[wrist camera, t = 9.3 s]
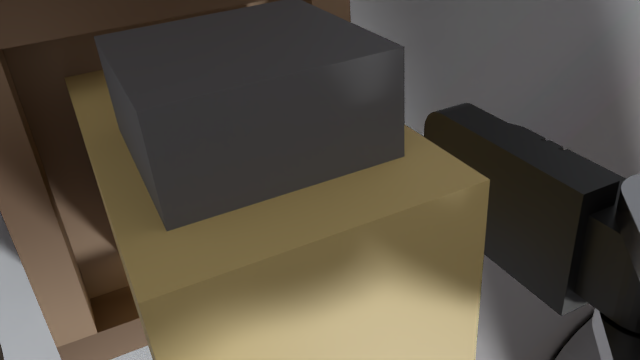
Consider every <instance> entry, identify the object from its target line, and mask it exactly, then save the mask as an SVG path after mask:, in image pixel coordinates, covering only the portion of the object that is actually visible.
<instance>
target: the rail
mask: <svg viewBox="0 0 640 360" xmlns="http://www.w3.org/2000/svg"><path fill="white" fill-rule="evenodd" d="M275 1H280V0H0V211H1V214H2V216H3V219H4V221H5V224H6V226H7V228H8V231H9V233H10V236H11V238H12V241H13V243H14V245H15V248H16V250H17V253H18V255H19V257H20V260H21V262H22V265H23V267H24V270H25V272H26V274H27V277H28V279H29V282H30V284H31V287H32V289H33V291H34V294H35V296H36V299H37V301H38V303H39V306H40V308H41V311H42V313H43V316H44V318H45V320H46V323H47V325H48V328H49V330H50V333H51V335H52V337H53V340H54V342H55V345H56V347H57V349H58V352H59V354H60V357H61V359H62V360H110V359H113V358H115V357H118V356H121V355H123V354H126V353H129V352H131V351H134V350H137V349H139V348H142V347H145V346H147V345H148V343H147V339H146V336H145V333H144V330H143V327H142V324H141V321H140V318H139V314H138V311H137V308H136V305H135V302H134V299H133V296H132V293H131V289H130V286H129V283H128V280H127V277H126V274H125V271H124V268H123V265H122V261H121V258H120V255H119V252H118V249H117V246H116V242H115V239H114V236H113V233H112V230H111V226H110V223H109V220H108V217H107V213H106V210H105V207H104V204H103V201H102V197H101V194H100V191H99V188H98V185H97V181H96V178H95V175H94V172H93V168H92V165H91V162H90V159H89V156H88V152H87V149H86V146H85V143H84V140H83V136H82V133H81V130H80V127H79V123H78V120H77V117H76V114H75V111H74V107H73V104H72V101H71V98H70V94H69V91H68V88H67V85H66V82H65V78H66V77H70V76H75V75H80V74H84V73H89V72H94V71H99V70H103V68H102V65H101V61H100V57H99V54H98V50H97V47H96V43H95V39H94V36H99V35H104V34H109V33H114V32H120V31H125V30H130V29H135V28H140V27H145V26H151V25H156V24H161V23H166V22H171V21H177V20H182V19H187V18H192V17H197V16H203V15H208V14H213V13H218V12H223V11H229V10H234V9H239V8H244V7H249V6H254V5H260V4H265V3H270V2H275ZM303 1H305V2H307V3H309V4H311V5H313V6H316V7H318V8H320V9H322V10H324V11H327V12H329V13H331V14H333V15H335V16H338V17H340V18H342V19H344V20H346V21H348V22H351V19H350V0H303Z"/></svg>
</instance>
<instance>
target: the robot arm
mask: <svg viewBox="0 0 640 360" xmlns="http://www.w3.org/2000/svg"><path fill="white" fill-rule="evenodd" d="M424 137H425V138H426V139H428V140H429V141H431V142H432V143H434V144H435V145H437V146H439V147H440V148H442V149H443V150H445V151H446V152H448V153H449V154H451V155H453V156H454V157H456V158H457V159H459V160H460V161H462V162H463V163H465V164H466V165H468V166H470V167H471V168H473V169H474V170H476V171H477V172H479V173H480V174H482V175H484V176H485V177H487V178H488V179H490V186H489V198H488V210H487V222H486V234H485V246H484V254H485V255H486V256H487V257H489V258H490V259H491V260H492V261H494V262H495V263H496V264H497V265H499V266H500V267H501V268H502V269H504V270H505V271H506V272H507V273H508V274H510V275H511V276H512V277H513V278H515V279H516V280H517V281H518V282H520V283H521V284H522V285H523V286H525V287H526V288H527V289H528V290H530V291H531V292H532V293H533V294H535V295H536V296H537V297H538V298H540V299H541V300H542V301H543V302H545V303H546V304H547V305H548V306H550V307H551V308H552V309H553V310H554V311H556V312H557V313H558V314H559V315H561V316H563V315H565V314H567V313H569V312H571V311H573V310H575V309H577V308H580V307H582V306H584V305H586V304H588V303H589V304H591V305H592V306H593V307H595V309H594V313H593V317H592V318H591V319H590V320H589V321H588V322H587V323H586V324H585V325H584V326H583V327H582V328H581V329H579V330H578V331H577V332H576V333H575V335H574V336H573V337H572V338H571V339H570V340H569V342H568V343H567V344H566V345H565V346H564V347H563V349H562V350H561V352H560V353H559V355H558V356H557V357H556V359H555V360H640V174H636V175H633V176H630V177H629V178H627V179H625V178H623V177H621V176H619V175H617V174H615V173H613V172H611V171H609V170H607V169H605V168H603V167H601V166H600V165H598V164H596V163H594V162H592V161H590V160H588V159H586V158H584V157H582V156H580V155H578V154H576V153H574V152H572V151H570V150H568V149H567V150H563V147H562V146H560V145H558V144H556V143H554V142H552V141H550V140H548V141H546V140H545V138H544V137H542V136H540V135H538V134H536V133H534V132H532V131H530V130H528V129H526V128H524V127H521V126H517V125H514V124H510V123H507V122H505V121H503V120H501V119H499V118H497V117H495V116H493V115H491V114H489V113H487V112H485V111H483V110H482V109H480V108H478V107H476V106H474V105H472V104H469V103H464V104H460V105H457V106H453V107H450V108H446V109H443V110H439V111H436V112H432V113H430V114H429V115H428V117H427V119H426V121H425V127H424ZM0 360H4V357H3V352H2V348H1V345H0Z"/></svg>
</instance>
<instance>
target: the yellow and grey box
mask: <svg viewBox="0 0 640 360" xmlns="http://www.w3.org/2000/svg"><path fill="white" fill-rule="evenodd" d="M94 39H95V43H96V47H97V50H98V54H99V57H100V61H101V65H102V68H103V70H99V71H94V72H89V73H84V74H80V75H75V76H70V77H66V78H65V82H66V85H67V88H68V91H69V94H70V98H71V101H72V104H73V107H74V111H75V114H76V117H77V120H78V123H79V127H80V130H81V133H82V136H83V140H84V143H85V146H86V149H87V152H88V156H89V159H90V162H91V165H92V168H93V172H94V175H95V178H96V181H97V185H98V188H99V191H100V194H101V197H102V201H103V204H104V207H105V210H106V213H107V217H108V220H109V223H110V226H111V230H112V233H113V236H114V239H115V242H116V246H117V249H118V252H119V255H120V258H121V261H122V265H123V268H124V271H125V274H126V277H127V280H128V283H129V286H130V289H131V293H132V296H133V299H134V302H135V305H136V308H137V311H138V314H139V318H140V321H141V324H142V327H143V330H144V333H145V336H146V339H147V343H148V346H149V349H150V352H151V355H152V358H153V360H475V356H476V343H477V331H478V319H479V307H480V295H481V283H482V271H483V259H484V246H485V234H486V222H487V210H488V198H489V186H490V179H488V178H487V177H485V176H484V175H482V174H480V173H479V172H477V171H476V170H474V169H473V168H471V167H470V166H468V165H466V164H465V163H463V162H462V161H460V160H459V159H457V158H456V157H454V156H453V155H451V154H449V153H448V152H446V151H445V150H443V149H442V148H440V147H439V146H437V145H435V144H434V143H432V142H431V141H429V140H428V139H426V138H425V137H423V136H422V135H420V134H418V133H417V132H415V131H414V130H412V129H411V128H409V127H408V126H406V125H405V124H404V47H403V46H401V45H399V44H397V43H394V42H392V41H390V40H388V39H386V38H383V37H381V36H379V35H377V34H375V33H372V32H370V31H368V30H366V29H364V28H362V27H359V26H357V25H355V24H353V23H351V22H348V21H346V20H344V19H342V18H340V17H338V16H335V15H333V14H331V13H329V12H327V11H324V10H322V9H320V8H318V7H316V6H313V5H311V4H309V3H307V2H305V1H303V0H280V1H275V2H270V3H265V4H260V5H254V6H249V7H244V8H239V9H234V10H229V11H223V12H218V13H213V14H208V15H203V16H197V17H192V18H187V19H182V20H177V21H171V22H166V23H161V24H156V25H151V26H145V27H140V28H135V29H130V30H125V31H120V32H114V33H109V34H104V35H99V36H94Z"/></svg>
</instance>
